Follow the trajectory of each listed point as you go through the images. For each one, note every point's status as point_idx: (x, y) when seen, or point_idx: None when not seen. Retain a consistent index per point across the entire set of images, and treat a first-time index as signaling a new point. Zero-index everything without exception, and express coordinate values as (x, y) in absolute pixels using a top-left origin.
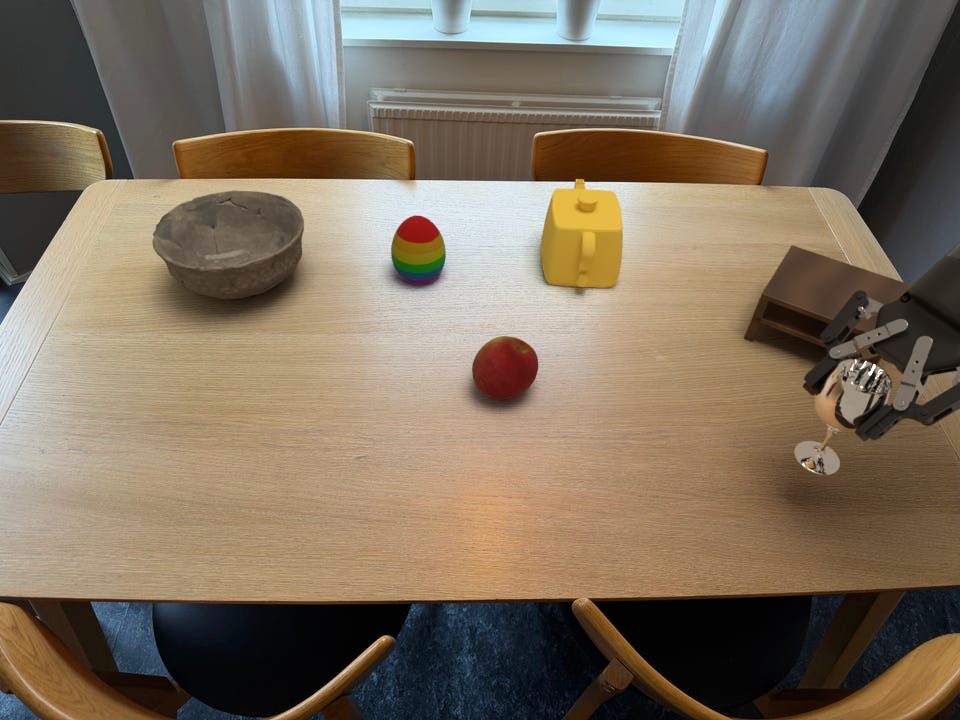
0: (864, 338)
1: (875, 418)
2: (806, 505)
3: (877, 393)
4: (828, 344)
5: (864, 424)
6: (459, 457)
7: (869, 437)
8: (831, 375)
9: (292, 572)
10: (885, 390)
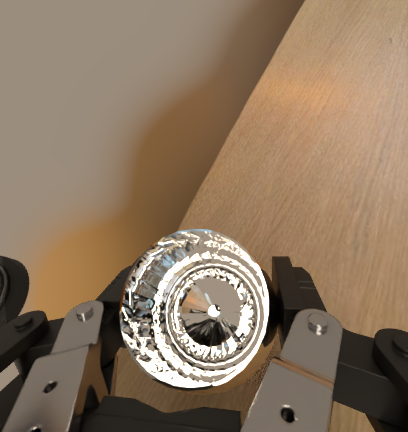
0: (299, 402)
1: None
2: None
3: (185, 384)
4: (370, 345)
5: None
6: (374, 88)
7: None
8: (249, 251)
9: (308, 18)
10: (159, 373)
